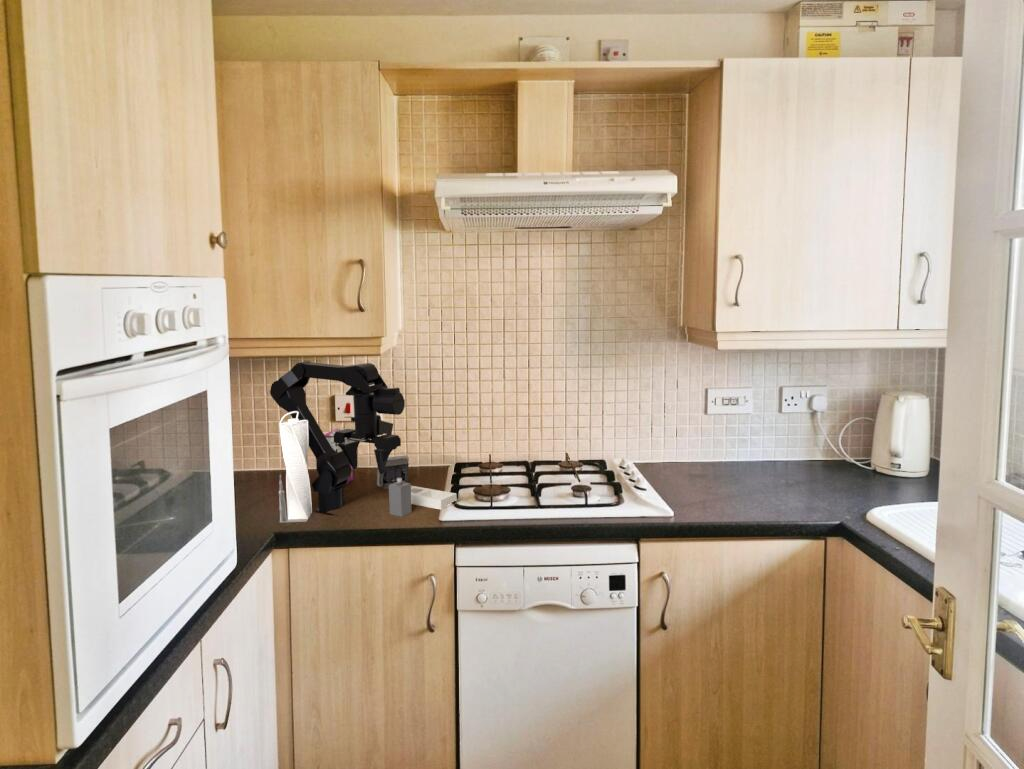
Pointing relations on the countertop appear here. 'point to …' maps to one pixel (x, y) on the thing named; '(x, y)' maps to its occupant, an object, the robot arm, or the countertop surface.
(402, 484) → the block
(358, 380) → the robot arm
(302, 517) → the skyscraper
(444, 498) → the power strip
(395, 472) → the electrical switch
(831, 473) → the countertop surface
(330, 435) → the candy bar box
